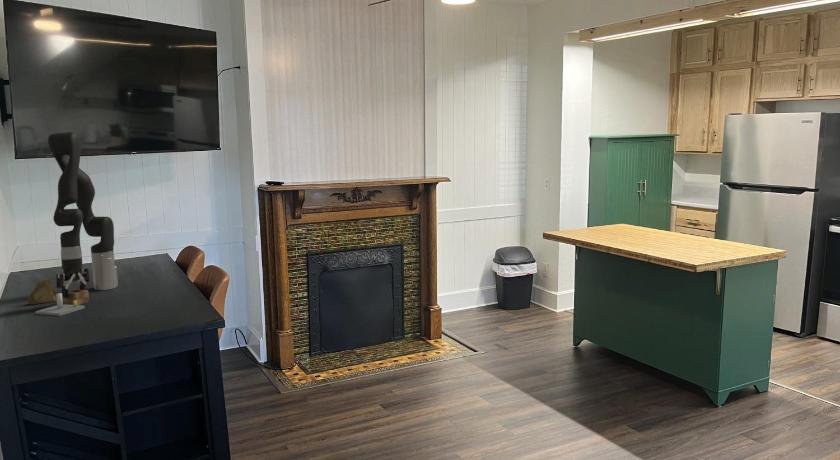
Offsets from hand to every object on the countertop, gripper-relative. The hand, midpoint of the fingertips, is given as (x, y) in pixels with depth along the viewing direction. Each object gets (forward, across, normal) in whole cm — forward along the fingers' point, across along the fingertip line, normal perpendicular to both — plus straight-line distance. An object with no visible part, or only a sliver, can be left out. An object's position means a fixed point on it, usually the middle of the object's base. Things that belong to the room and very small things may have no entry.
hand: (74, 295), depth 261 cm
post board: (+4, +11, +4) cm, 13 cm away
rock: (+4, +2, -16) cm, 16 cm away
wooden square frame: (+3, -1, 0) cm, 3 cm away
